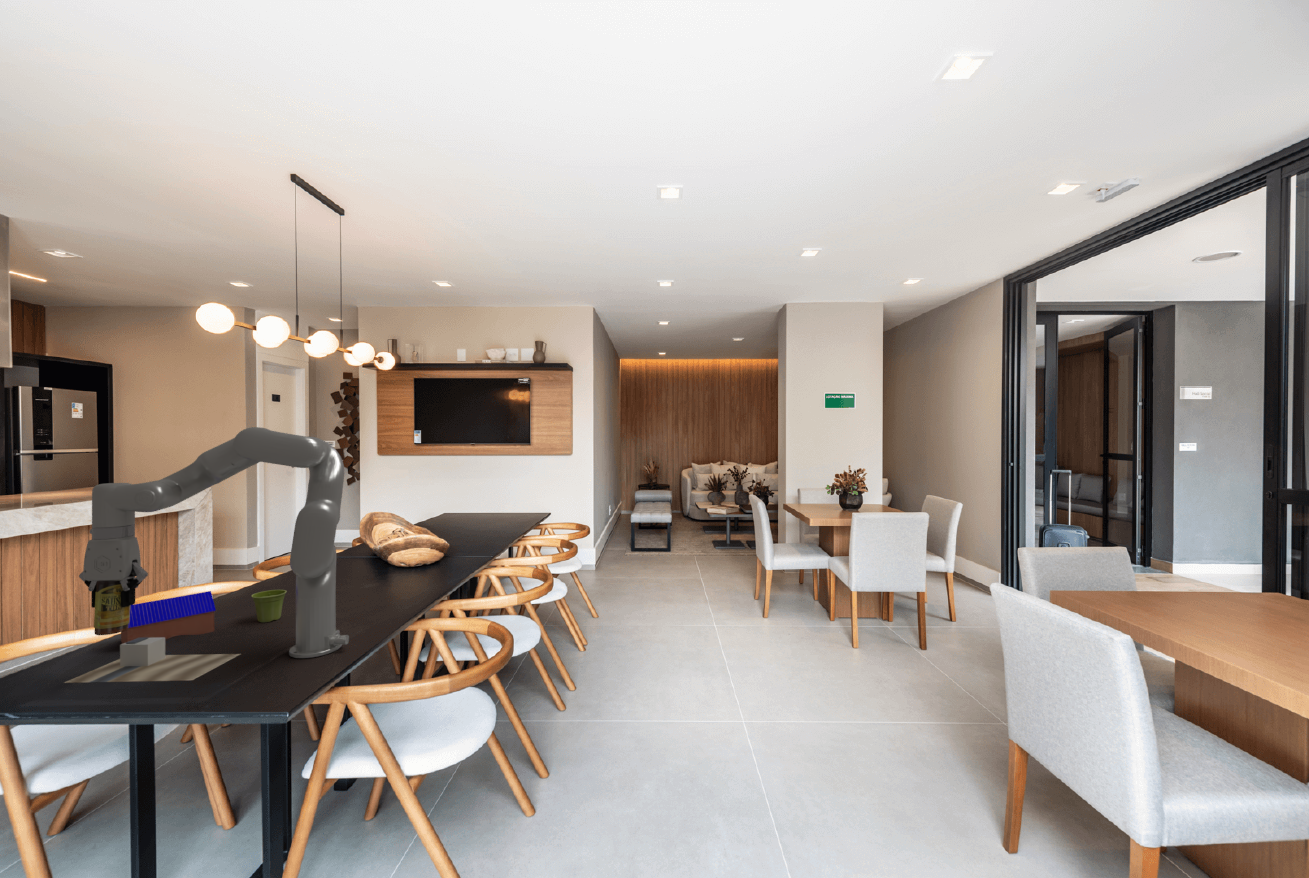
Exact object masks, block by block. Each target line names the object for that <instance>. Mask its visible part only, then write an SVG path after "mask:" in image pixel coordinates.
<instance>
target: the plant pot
mask: <svg viewBox="0 0 1309 878" xmlns="http://www.w3.org/2000/svg"><path fill="white" fill-rule="evenodd" d="M287 592H288V591H287V590H285V589H271V590H270V589H269V590H265V591H263V590H262V591H259V592H256V593H253V594H251V599H252V601H253V602H254V608H255V612H256V618H257V622H260V623H268V622H269V623H270V622H272V621H278V620H279V619H281V616H282V611H283V605H284V598H285V596H286V594H287Z"/></svg>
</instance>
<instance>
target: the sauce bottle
mask: <svg viewBox="0 0 1309 878" xmlns="http://www.w3.org/2000/svg"><path fill="white" fill-rule="evenodd" d="M127 581H128V584H129V583H130V582H129V580H127ZM121 591H124V590H123V587H122V585H121V583H120V581H97V589H96V596H95V608H94V616H93V617H94V619H93V620H94V621H93V628H94V635H96V636H107V635H108V636H109V635H115V634H116V635H117V634H119V633H121V632H123V631H126V630H127V628H128V624H129V623H130V606H127V607H121Z"/></svg>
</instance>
